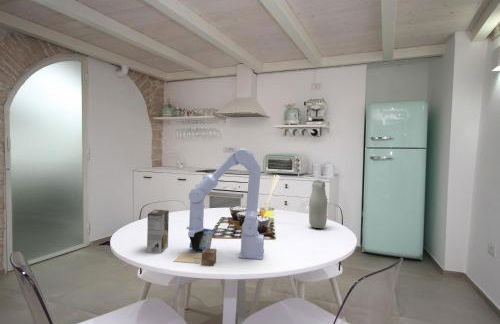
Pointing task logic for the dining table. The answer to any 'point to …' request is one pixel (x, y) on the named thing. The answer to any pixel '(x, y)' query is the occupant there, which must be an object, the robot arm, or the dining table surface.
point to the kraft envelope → (189, 258)
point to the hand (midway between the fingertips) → (195, 249)
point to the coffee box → (157, 231)
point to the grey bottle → (318, 205)
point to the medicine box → (205, 239)
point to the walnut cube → (208, 257)
